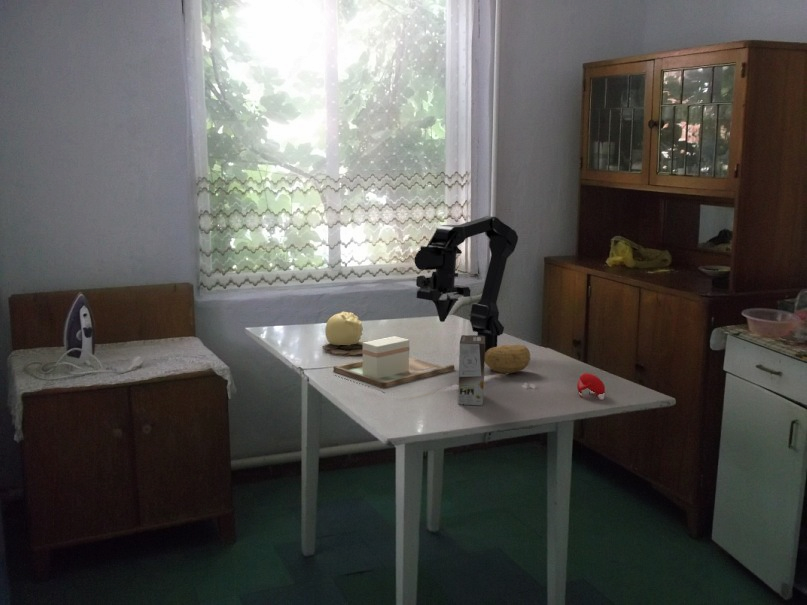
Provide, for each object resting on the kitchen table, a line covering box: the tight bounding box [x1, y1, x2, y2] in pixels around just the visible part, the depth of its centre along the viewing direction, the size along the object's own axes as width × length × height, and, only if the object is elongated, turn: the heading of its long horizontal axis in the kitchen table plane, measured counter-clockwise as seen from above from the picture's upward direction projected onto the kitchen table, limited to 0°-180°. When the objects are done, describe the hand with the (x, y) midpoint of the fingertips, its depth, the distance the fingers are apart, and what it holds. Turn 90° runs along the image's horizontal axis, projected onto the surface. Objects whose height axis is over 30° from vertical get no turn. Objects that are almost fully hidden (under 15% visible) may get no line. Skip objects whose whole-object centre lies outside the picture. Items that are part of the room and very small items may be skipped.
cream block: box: [361, 335, 410, 379], centre depth 233 cm, size 12×6×9 cm, turn 133°
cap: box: [576, 372, 606, 396], centre depth 218 cm, size 8×6×6 cm
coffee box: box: [457, 334, 486, 406], centre depth 213 cm, size 9×6×16 cm
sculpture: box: [324, 311, 364, 346], centre depth 269 cm, size 12×12×11 cm
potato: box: [485, 344, 531, 374], centre depth 239 cm, size 10×14×8 cm
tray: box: [333, 356, 455, 389], centre depth 236 cm, size 27×21×2 cm
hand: (442, 321), depth 247 cm, fingers closed
